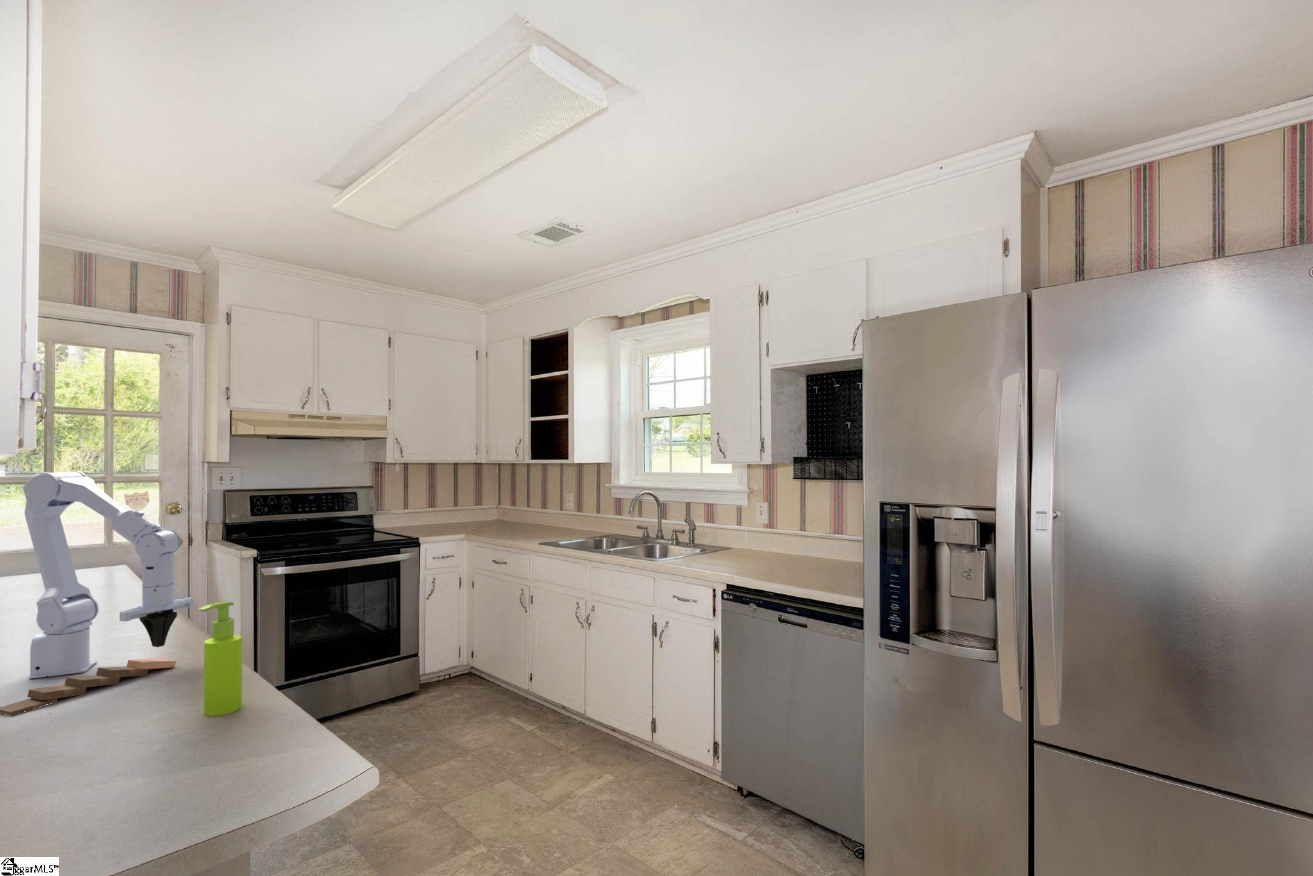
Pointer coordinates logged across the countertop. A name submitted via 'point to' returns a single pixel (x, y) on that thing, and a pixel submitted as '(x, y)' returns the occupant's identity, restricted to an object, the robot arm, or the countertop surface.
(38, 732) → the countertop surface
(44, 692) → the tile
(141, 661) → the lead tile
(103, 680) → the tile
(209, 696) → the soap dispenser
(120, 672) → the tile
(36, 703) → the end tile
